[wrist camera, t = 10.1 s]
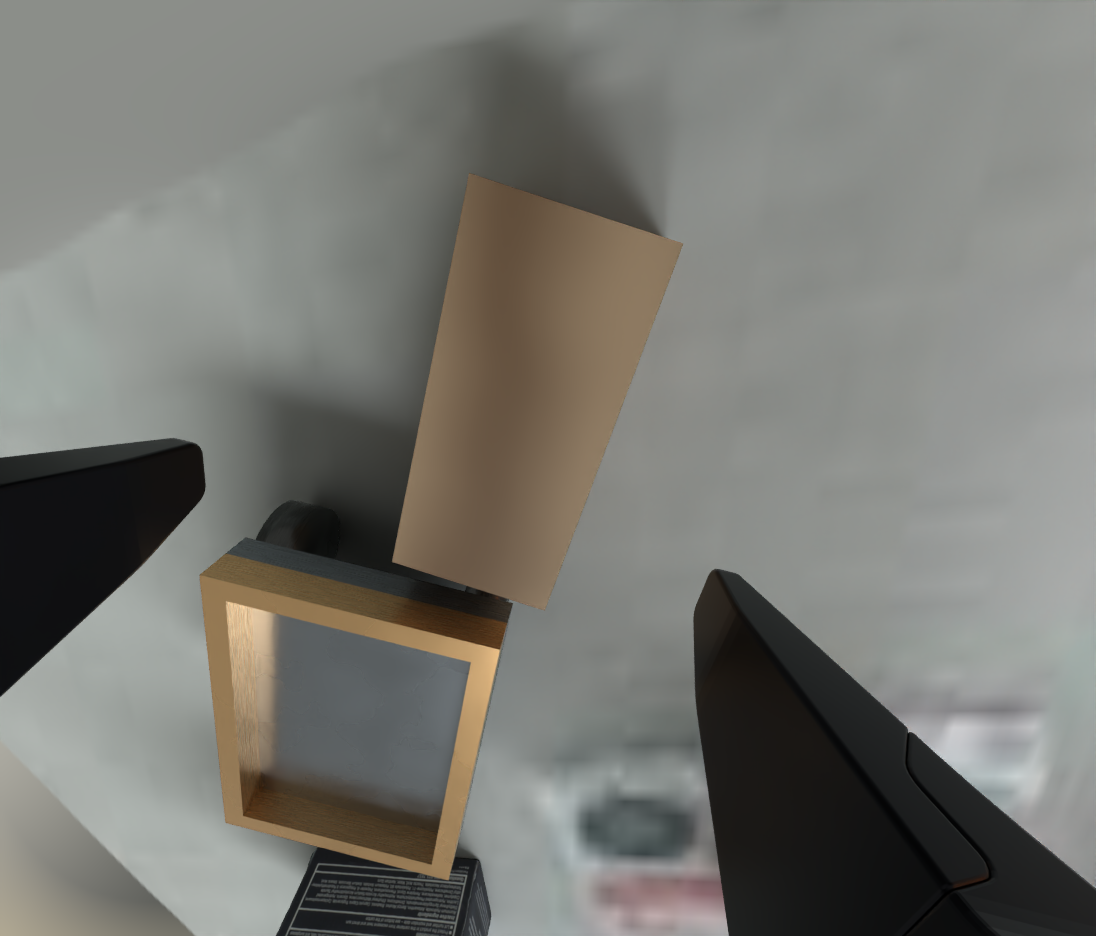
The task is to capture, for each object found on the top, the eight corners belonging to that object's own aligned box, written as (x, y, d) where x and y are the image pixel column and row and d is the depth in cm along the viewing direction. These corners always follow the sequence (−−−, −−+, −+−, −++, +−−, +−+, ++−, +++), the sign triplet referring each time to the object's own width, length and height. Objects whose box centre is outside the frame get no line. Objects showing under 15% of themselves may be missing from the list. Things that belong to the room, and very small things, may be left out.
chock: (664, 241, 16) (683, 243, 12) (560, 528, 21) (544, 610, 16) (510, 190, 16) (469, 173, 11) (441, 490, 21) (392, 561, 16)
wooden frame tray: (530, 537, 21) (502, 637, 16) (479, 761, 27) (447, 886, 22) (300, 481, 21) (198, 562, 16) (300, 715, 27) (226, 829, 22)
